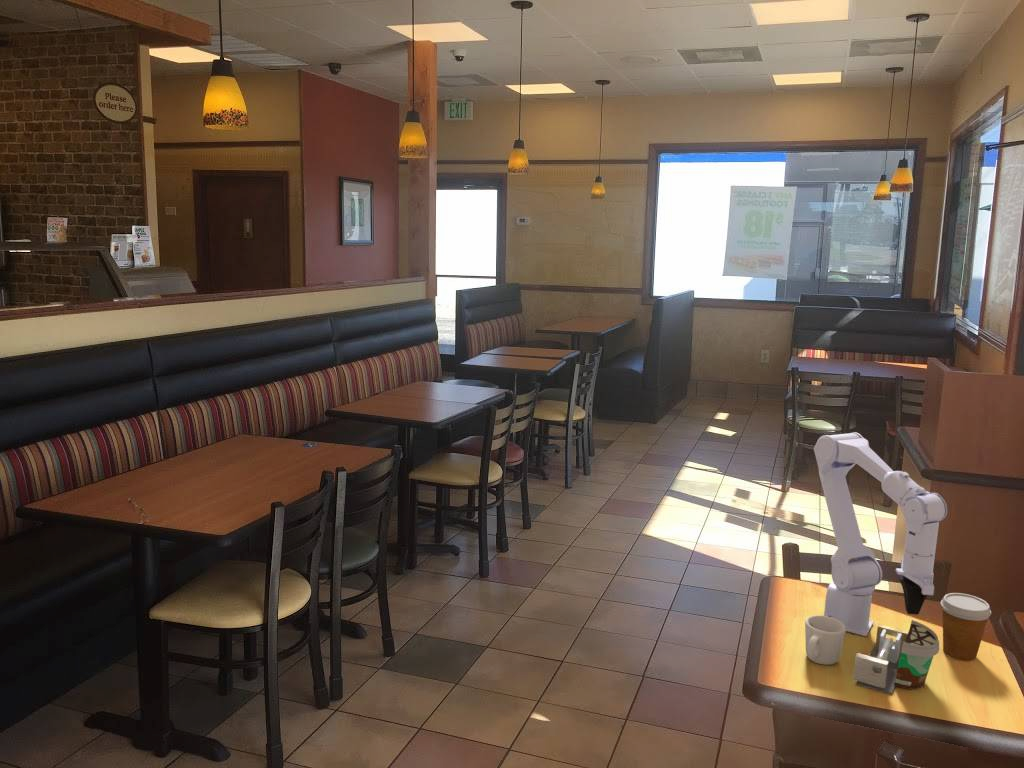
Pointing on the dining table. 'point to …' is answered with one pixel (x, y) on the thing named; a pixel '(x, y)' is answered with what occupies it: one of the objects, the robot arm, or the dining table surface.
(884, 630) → the bearing block
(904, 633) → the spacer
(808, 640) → the cup
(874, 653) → the mat
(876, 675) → the shaft
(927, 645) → the food container
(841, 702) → the dining table surface
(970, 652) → the disposable coffee cup
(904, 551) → the robot arm
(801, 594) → the dining table surface
